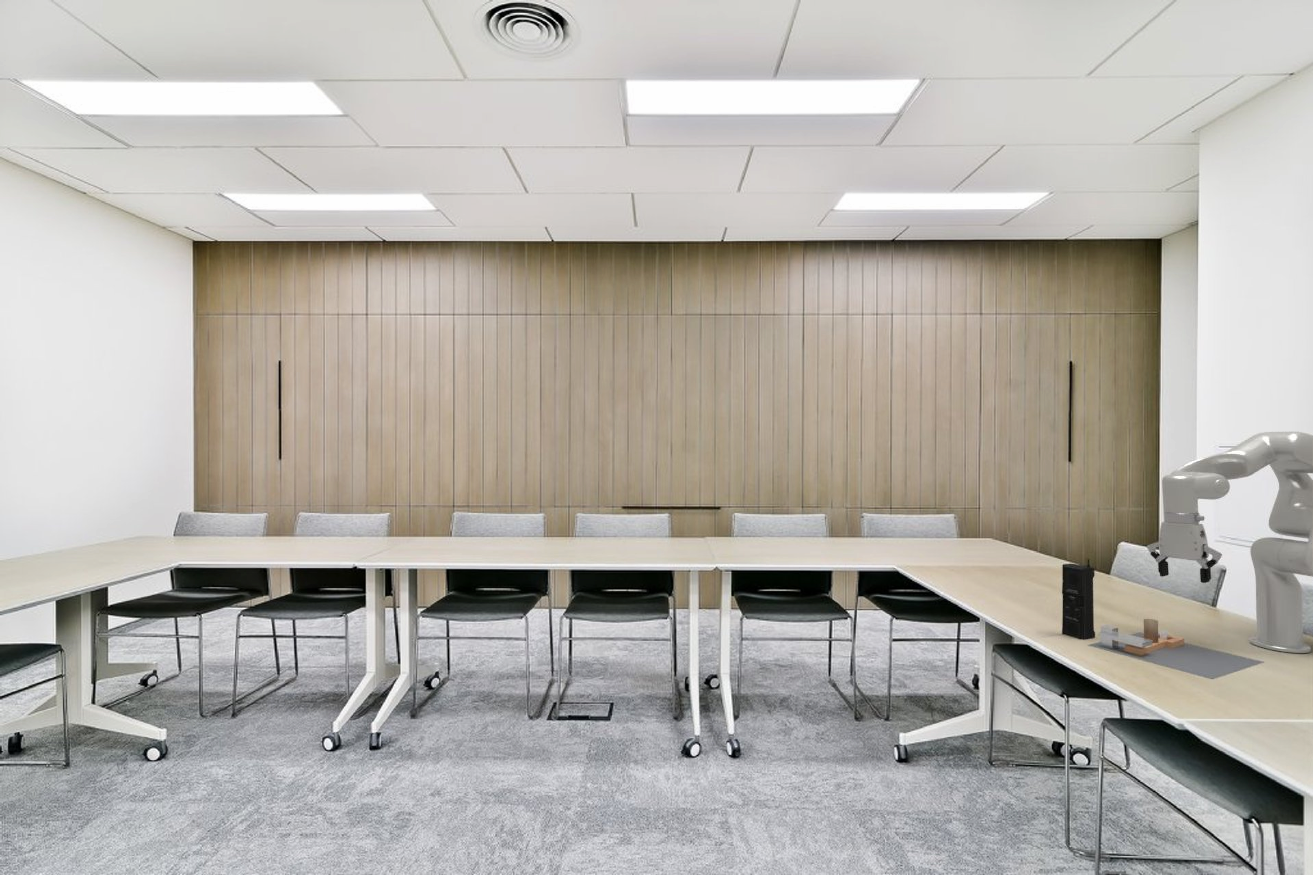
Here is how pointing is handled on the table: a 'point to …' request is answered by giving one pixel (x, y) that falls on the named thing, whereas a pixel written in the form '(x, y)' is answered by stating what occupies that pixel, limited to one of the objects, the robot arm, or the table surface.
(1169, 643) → the link
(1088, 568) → the portable radio
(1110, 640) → the keeper
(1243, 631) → the table surface
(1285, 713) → the table surface
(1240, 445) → the robot arm
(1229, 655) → the pintle board
